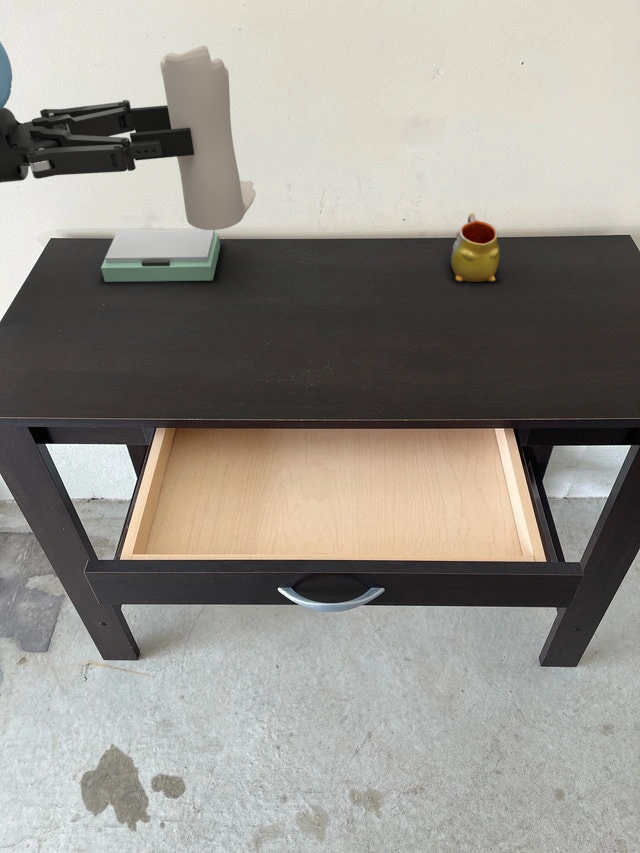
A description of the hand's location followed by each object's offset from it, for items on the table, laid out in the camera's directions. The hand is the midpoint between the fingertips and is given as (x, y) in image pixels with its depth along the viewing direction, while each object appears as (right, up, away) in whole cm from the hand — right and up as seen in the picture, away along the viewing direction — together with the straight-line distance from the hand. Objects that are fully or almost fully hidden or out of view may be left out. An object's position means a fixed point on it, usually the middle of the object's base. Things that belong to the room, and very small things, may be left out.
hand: (190, 128), depth 75 cm
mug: (+38, -10, +24) cm, 46 cm away
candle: (+2, -5, +10) cm, 12 cm away
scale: (-9, -9, +25) cm, 28 cm away
